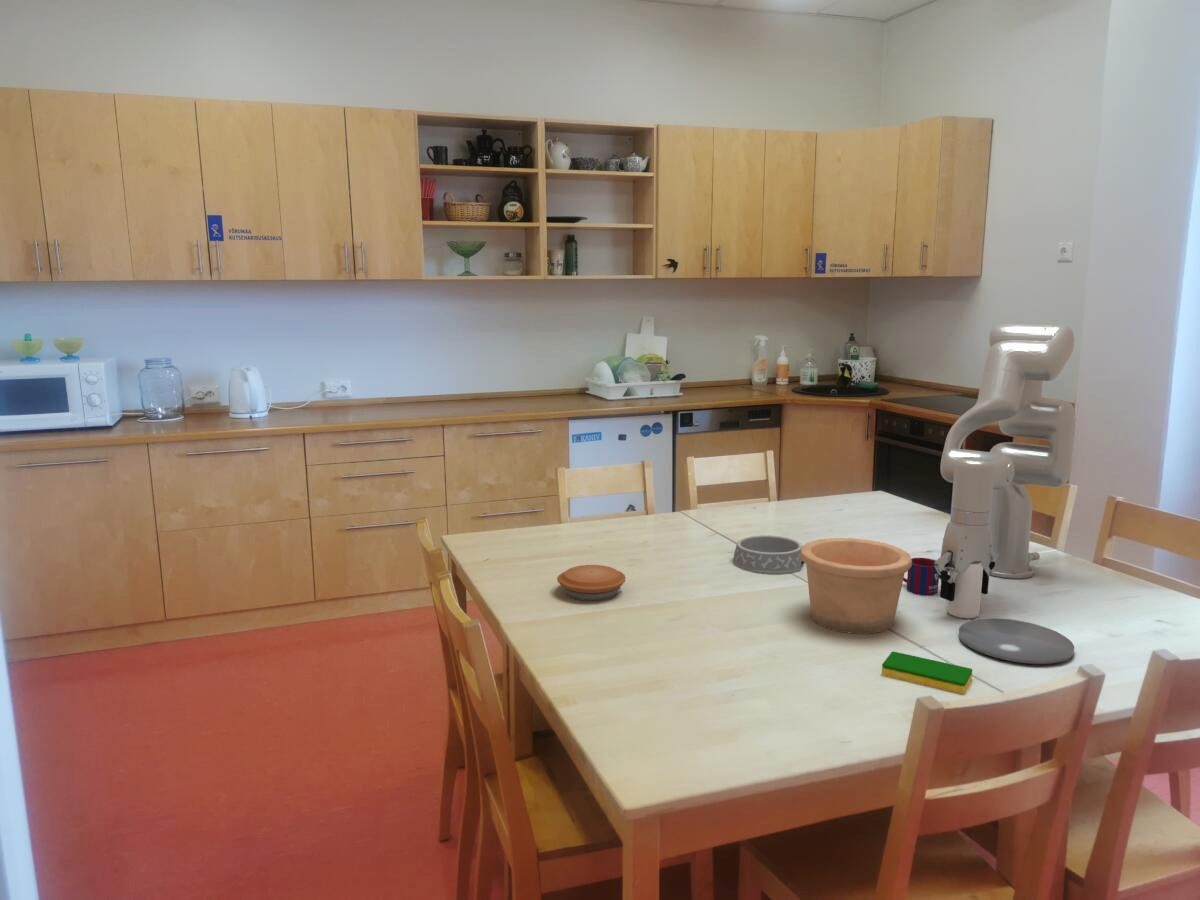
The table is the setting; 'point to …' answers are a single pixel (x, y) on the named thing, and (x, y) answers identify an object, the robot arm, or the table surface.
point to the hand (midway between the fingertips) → (963, 595)
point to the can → (967, 593)
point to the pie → (591, 582)
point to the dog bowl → (768, 555)
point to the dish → (1016, 641)
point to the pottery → (854, 583)
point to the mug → (922, 577)
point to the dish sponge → (927, 672)
